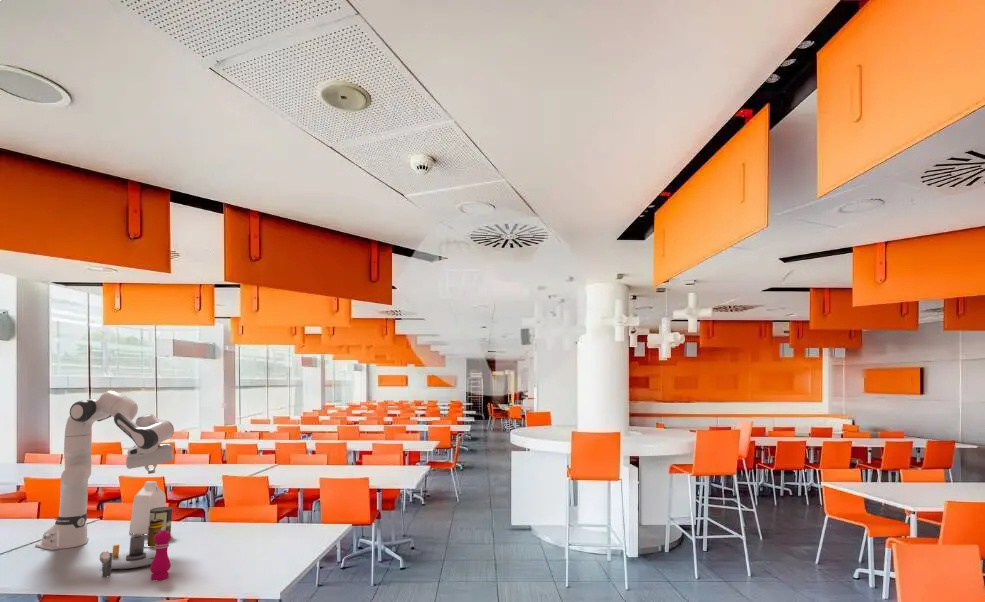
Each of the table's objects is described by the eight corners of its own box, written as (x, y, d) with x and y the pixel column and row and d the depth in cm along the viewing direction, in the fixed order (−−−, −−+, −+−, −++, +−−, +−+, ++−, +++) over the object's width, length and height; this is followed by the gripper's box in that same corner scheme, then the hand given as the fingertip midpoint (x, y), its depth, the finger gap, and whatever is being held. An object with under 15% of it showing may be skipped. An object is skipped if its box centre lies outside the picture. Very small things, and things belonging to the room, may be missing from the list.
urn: (131, 561, 249) (133, 537, 251) (122, 559, 253) (124, 535, 254) (149, 557, 256) (151, 533, 257) (140, 554, 260) (141, 531, 261)
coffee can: (163, 533, 304) (165, 505, 305) (174, 536, 298) (176, 508, 300) (143, 538, 295) (145, 509, 297) (154, 541, 289) (156, 511, 291)
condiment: (162, 545, 281) (164, 520, 283) (142, 548, 276) (144, 522, 278) (161, 542, 287) (163, 517, 289) (141, 545, 282) (143, 519, 284)
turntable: (121, 572, 238) (122, 557, 238) (90, 563, 249) (91, 549, 250) (177, 556, 258) (178, 543, 259) (145, 549, 270) (146, 536, 271)
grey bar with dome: (97, 577, 235) (100, 551, 236) (104, 575, 238) (106, 549, 239) (106, 578, 234) (108, 552, 235) (112, 576, 237) (115, 550, 238)
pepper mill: (164, 574, 239) (168, 524, 242) (173, 577, 235) (176, 526, 238) (145, 579, 233) (149, 527, 236) (154, 582, 229) (158, 530, 232)
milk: (128, 534, 303) (132, 483, 307) (146, 528, 314) (150, 479, 318) (147, 535, 300) (151, 483, 304) (165, 529, 311) (168, 480, 315)
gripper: (172, 440, 294) (176, 466, 295) (126, 448, 286) (130, 474, 288) (171, 444, 288) (174, 471, 289) (123, 452, 280) (127, 479, 282)
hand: (151, 473), depth 288 cm, fingers closed
